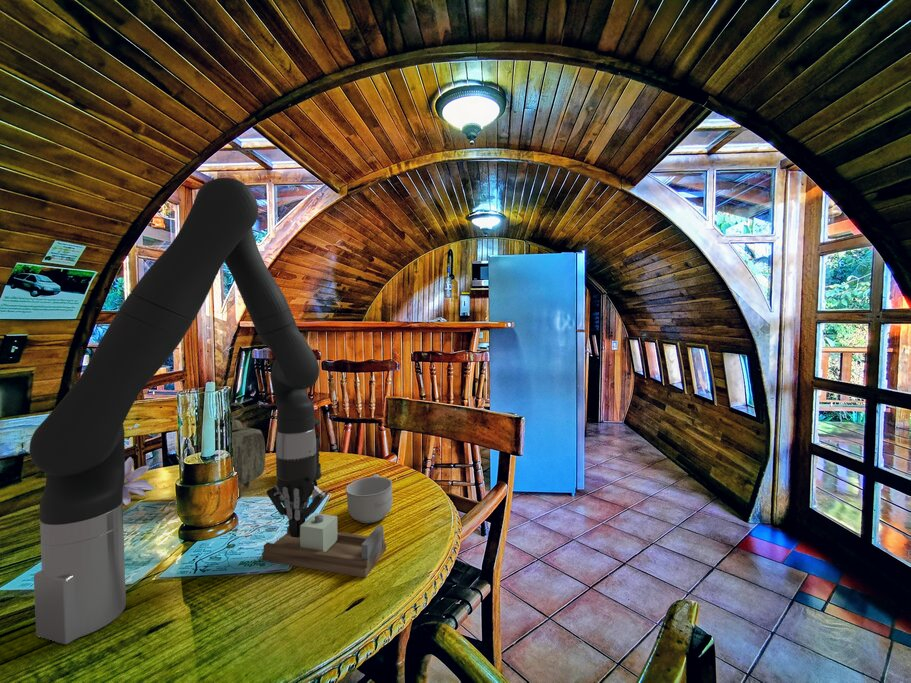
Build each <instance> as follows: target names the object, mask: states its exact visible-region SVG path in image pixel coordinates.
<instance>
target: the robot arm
mask: <svg viewBox="0 0 911 683" xmlns="http://www.w3.org/2000/svg"><path fill="white" fill-rule="evenodd" d="M258 217H259V204H258V201H257V199H256V196H255V194H254V192H253V191H252V189H250V188H249V186H248V185H247V184H245V183H244V182H242V181H240V180H239V179H235V178H232V177H218V178H214V179H213V178H212V179H211V180H209V181H207V182H205V183H204V184H202V185H201V186H200V187H199V189H198V191H197V193H196V195H195V199H194V201H193V204H192V206H191V208H190V210H189V212H188V215H187V216H186V218H185V220H184V222H183V224H182V226H181V228H180V229H179V231H178V233H177V235H176V236H175V238H174V239H173V240H172V242H171V244H170V245H169V246H168V247H167V248H166V249H165V250H164V251H163V252H162V253H161V255H160V256H159V257H158V258H157V259H155V261H154V262H153V264H151V266H150V267H149V268H148V269H147V271H145V273H144V274H143V276H141V277H140V279H139V281H138V282H136V284H135V286H134V287H133V288H132V290H131V291H130V293H129V294H128V296H126V298H125V300H124V301H123V303H122V304H121V306H120V308H119V309H118V310H117V312H116V314H115V315H114V317H113V319H112V321H111V322H110V323H109V325H108V327H107V328H106V331H105V332H104V334H103V335H102V337H101V339H100V341H99V343H98V344H97V346H96V348H95V350H94V352H93V354H92V355H91V358H90V360H89V361H88V363H87V365H86V367H85V369H84V371H83V372H82V373H81V375H80V376H79V378H78V379H77V381H75V383H74V384H73V386H72V387H71V388H70V389H69V391H68V392H67V393H66V394H65V396H64V397H63V398H62V399H61V400H60V402H59V403H58V404H57V405H56V406H55V407H54V409H53V410H52V411H51V412H50V413H49V415H47V416H46V418H45V419H43V421H42V422H41V423H40V425H38V427H36V429H35V431H34V432H33V434H32V436H31V438H30V442H29V455H30V459H31V461H32V463H33V464H34V466H35V467H36V468H37V469H38V470H40V471H41V472H43V473H45V474H46V479H45V486H44V490H43V493H42V497H41V499H40V502H39V528H40V531H39V532H40V533H39V534H40V556H41V570H39V571H37V572H36V573H35V574H34V575H33V586H34V587H33V588H34V589H33V590H34V593H33V594H34V613H35V637H36V636H40V637H42V638H41V639H43V638H46V639H45V640H47V639H49V640H48V641H50V640H52V641H51V642H54V641H55V643H59V644H63V645H68V644H70V643H72V642H73V641H75V640H76V639H79V638H81V637H84V636H86V635H90V634H92V633H94V632H96V631H99V630H100V629H102V628H104V627H105V626H107V625H108V624H110V623H111V622H113V621H114V620H116V619H117V618H118V617H119V616H120V615H121V614H122V613H123V611H124V610H125V608H126V604H127V600H126V599H127V597H126V596H127V594H126V565H125V563H126V560H125V540H124V539H125V535H124V534H125V533H124V532H125V531H124V503H123V485H124V478H125V462H126V458H125V457H126V452H125V450H126V448H125V443H126V440H125V427H124V423H125V420H126V419H127V417H128V414H129V412H130V410H131V409H132V407H133V405H134V404H135V401H136V400H137V398H138V397H139V395H140V394H141V392H142V390H143V389H144V388H145V387H146V385H147V384H148V383H149V382H150V381H151V379H152V378H153V377H154V376H155V375H156V374H157V372H159V370H160V369H161V368H162V367H163V366H164V365H165V363H166V362H167V361H168V359H169V358H171V356H172V354H173V353H174V352H175V350H176V349H177V347H178V346H179V344H180V343H181V342H182V340H184V337H185V335H186V334H187V332H188V331H189V330H190V328H191V326H192V325H193V323H194V321H195V320H196V318H197V316H198V314H199V312H200V311H201V308H202V307H203V305H204V303H205V301H206V299H207V297H208V295H209V293H210V291H211V289H212V287H213V284H214V283H215V280H216V278H217V275H218V273H219V272H220V269H221V268H222V266H223V264H224V263H225V265H226V267H227V269H228V270H229V272H230V274H231V276H232V278H233V280H234V282H235V285H236V288H237V290H238V292H239V294H240V296H241V298H242V301H243V304H244V306H245V308H246V310H247V312H248V315H249V317H250V319H251V321H252V324H253V326H254V328H255V331H256V333H257V334H258V337H259V339H260V340H261V342H262V344H263V345H264V346H265V347H267V348H268V349H269V350H270V351H271V352H272V354H273V356H274V358H275V359H274V362H273V363H272V366H271V367H272V368H271V375H270V376H271V384H272V385H271V386H272V390H273V394H274V395H273V397H274V401H275V405H276V409H277V410H276V428H277V429H276V439H275V463H276V464H275V468H276V469H275V470H276V471H275V472H276V477H277V480H276V483H275V485H274V486H272V487H270V488H269V489H267V490H266V495H267V496H268V498H269V499H270V501H271V503H272V504H273V506H274V507H275V508H276V510H277V512H278V513H279V515H280V516H286V517H287V518H286V519H288V526H289V533H290V534H291V537H296V538H298V537H300V525H302V524H303V523H304V522H305V521H306V520H307V519H308V518H310V517H311V516H312V514H315V512H316V510H317V509H318V508H319V507H320V506H321V504H322V502H323V501H324V500H325V499H326V498H327V496H328V491H327V490H321V489H320V488H319V487H318V481H317V480H316V478H315V474H316V435H315V434H316V429H315V428H316V426H315V419H316V418H315V416H316V415H315V412H316V410H315V404H314V403H313V401H312V400H311V398H309V396H308V395H309V394H308V389H309V388H311V387H313V386H314V385H315V383H317V381H318V379H319V377H320V366H319V362H318V360H317V357H316V355H315V353H314V351H313V349H312V348H311V346H310V345H309V343H308V341H307V340H306V338H305V337H304V336H303V334H302V333H301V331H300V330H299V328H298V324H297V323H296V321H295V317H294V315H293V313H292V310H291V308H290V306H289V304H288V302H287V299H286V297H285V295H284V293H283V291H282V290H281V288H280V286H279V285H278V283H277V282H276V279H274V277H273V276H272V274H271V272H270V270H269V268H268V267H267V265H266V263H265V261H264V260H263V257H262V255H261V252H260V250H259V247H258V244H257V241H256V238H255V235H254V230H253V227H254V226H255V225H256V223H257V221H258ZM310 497H311V500H312V501H311V502H310ZM308 504H309V505H308ZM309 516H310V517H309Z"/></svg>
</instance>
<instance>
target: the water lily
mask: <svg viewBox="0 0 911 683" xmlns="http://www.w3.org/2000/svg"><path fill="white" fill-rule="evenodd" d="M133 464H134V461H133V458H132V457H131V456H129V457H128V458H127V459H125V478H124V485H123V505H125V506H127V505H129V504H130V503H131V499H132V497H131V493H133V494H135V495H139V496H144V497H145V496H146V492H145V491H151V490H152V491H153V490H155V489H156V488H155V487H154V486H153V485H152V484H150V481H149V480H147V479H138V478H140V477H142V476H143V475H144V474H146V473H147V471H148V470H149V468H150V465H142V466H140V467H138V468H137V469H134V471H132V469H133ZM137 479H138V480H137ZM130 492H131V493H130Z"/></svg>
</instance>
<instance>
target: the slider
mask: <svg viewBox="0 0 911 683" xmlns="http://www.w3.org/2000/svg"><path fill="white" fill-rule="evenodd" d="M337 532H338V516H337V515H331V514H323V513H315V512H314V513H313V515H311V516H310V517H308V518H307V519H306V520H305V522H304V523H303V524H302V525H300V548H305V549H312V550H318V551H324V552H326V551H327V550H328V549H329V548H330V547H331V546H332V545H333V544H334V543H335V542H336V541H337V540H338V539H337Z"/></svg>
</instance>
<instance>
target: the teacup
mask: <svg viewBox="0 0 911 683" xmlns="http://www.w3.org/2000/svg"><path fill="white" fill-rule="evenodd" d="M345 493H346V503H347V510H348V513H349V516H351V518H352V519H354V520H355V521H357V522H359V523H362V524H373V523H377V522H379V521H381V520H383V519H384V518H385V517H386V515H388V514H389V512H390V511H391V510H392V506H393V482H392V480H391V479H390V478H387V477H384V476H380V475H379V474H373V475H372V476H368V477H362V478H358V479H356V480H354V481H352V482H350V483H349V484H348V485H347V486H346V487H345Z"/></svg>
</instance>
